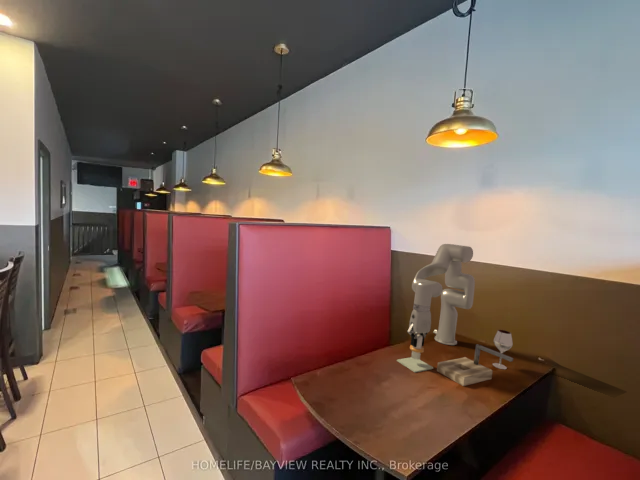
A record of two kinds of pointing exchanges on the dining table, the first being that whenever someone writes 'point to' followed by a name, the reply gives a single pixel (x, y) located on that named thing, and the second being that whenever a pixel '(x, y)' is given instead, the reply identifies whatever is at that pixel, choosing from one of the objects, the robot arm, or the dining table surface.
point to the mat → (415, 364)
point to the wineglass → (502, 345)
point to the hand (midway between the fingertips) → (417, 345)
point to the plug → (417, 348)
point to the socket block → (464, 371)
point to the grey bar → (477, 352)
